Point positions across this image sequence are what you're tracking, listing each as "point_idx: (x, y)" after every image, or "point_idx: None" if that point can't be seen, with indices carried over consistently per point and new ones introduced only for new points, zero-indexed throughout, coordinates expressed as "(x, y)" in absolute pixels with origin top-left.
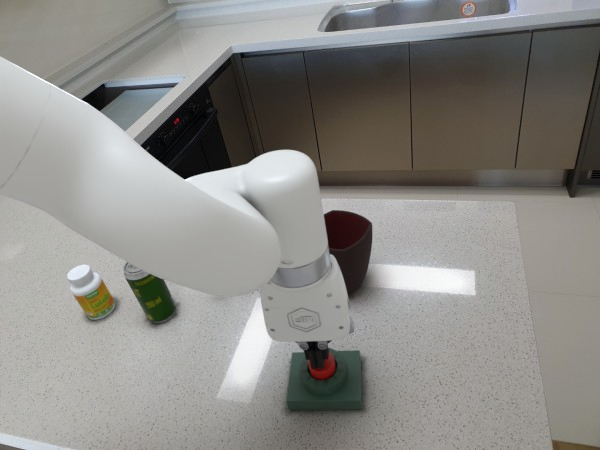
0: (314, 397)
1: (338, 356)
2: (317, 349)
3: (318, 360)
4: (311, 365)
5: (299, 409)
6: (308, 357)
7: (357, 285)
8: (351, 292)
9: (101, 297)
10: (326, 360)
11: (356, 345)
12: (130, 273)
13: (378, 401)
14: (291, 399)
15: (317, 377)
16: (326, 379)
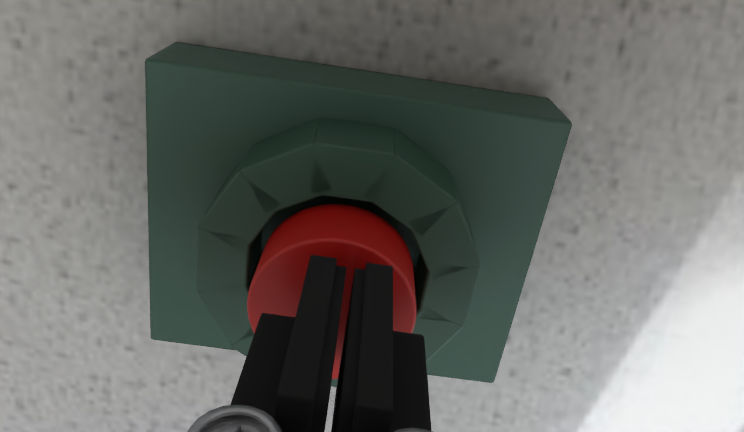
0: (407, 119)
1: (237, 324)
2: (298, 412)
3: (322, 314)
4: (388, 288)
5: (496, 91)
6: (402, 349)
7: None
8: None
9: None
10: (295, 310)
11: (194, 362)
12: None
13: (89, 72)
14: (540, 128)
15: (370, 219)
16: None
